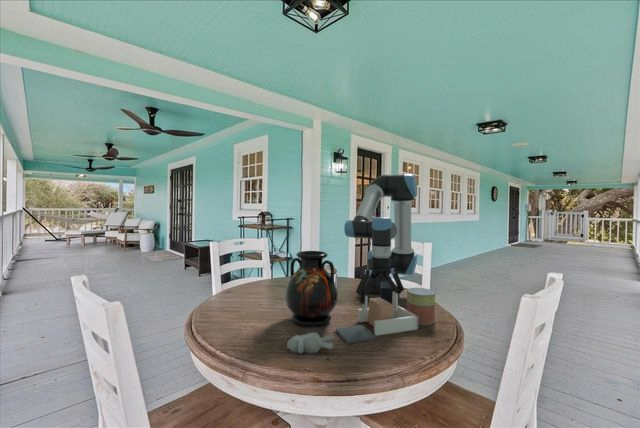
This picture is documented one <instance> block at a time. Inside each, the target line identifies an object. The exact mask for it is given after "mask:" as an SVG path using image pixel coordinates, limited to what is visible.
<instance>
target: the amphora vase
mask: <svg viewBox="0 0 640 428" xmlns="http://www.w3.org/2000/svg"><path fill="white" fill-rule="evenodd" d="M295 255H296V257H295V258H293V259H292V260H291V262H290V265H289V266H290V271H289V272H290V276H289V277H290V280H289V281H288V283H287V285H286V288H285V297H284V299H285V303H286V306H287V308H288V309H289V311H290V312H291V313H292V314H291V317H290V319H291V321H292V322H293V323H294V324H295V325H298V326H300V327H306V328H317V327H323V326H325V325H328V324H329V323H330V322H331V320H332V315H331V313H332V312H333V311H334V309H335V308H336V306H337V304H338V300H339V299H338V296H339V295H338V287H337V286H336V282H335V266H334V263H333V262H332V261H331V260H330V259H329V260H324V259H325V258H327V257H328V253H327V252H325V251H321V250H320V251H318V250H304V251H303V250H302V251H299V252H297V253H296V254H295ZM296 262H297V263H298V264H299V268H298V269H297V270H296V271H295V263H296ZM326 264H327V265H329V268H330V273H329V272H328V271H327V269H326V268H325V265H326Z"/></svg>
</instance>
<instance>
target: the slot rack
mask: <svg viewBox="0 0 640 428" xmlns="http://www.w3.org/2000/svg"><path fill="white" fill-rule="evenodd" d="M357 310H358V311H357V322H358V323H363V322H365V323H366V322H369V307H367V313H364V312H363V311H362V308H358V309H357ZM416 330H419V324H418V316H417V315H415V314H413V313H411V312H409V311H407V308H404V307H402V306H400V305H398V310H395V309H394V308H392V319H385V320H378V321H374V326H373V335H375V336H376V337H377V336H382V335H389V334H396V333H402V332H409V331H416Z"/></svg>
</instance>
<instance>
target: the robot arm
mask: <svg viewBox="0 0 640 428" xmlns="http://www.w3.org/2000/svg"><path fill="white" fill-rule="evenodd" d="M417 196H418V185H417V178H416V177H415V175H414V174H412V173H398V174H396V173H395V174H382V175H379V176H377V177H376V178H374V179H373V180H372V181H370V182H369V183H368V184H367V186H366V187H365V190H364V197H363V198H362V201H361V203H360V205H359V208H358V209H357V211H356V214H355V216H354V217H353V220H352V219H351V220H347V221H345V223H344V225H343V226H344V228H343V230H344V235H345V236H346V237H348V238H354V239H356V238H357V239H371V249H370V250H369V251H368V253H367V258H366V259H367V263H366V264H367V268H364V270H363V273H362V274H363V275H362V276H361V279H360V281H359V283H358V286H357V288H356V290H355V293H356V294H358V295H360V301H359V303H360V304H361V306H362V307H361V309H362V311H363V312H364V313H367V308H368V295H367V294H368V293H369V294H374V295H380V294H381V282H383V283H389V284H390V286H391V287H392V288H393V290H394V292H393V294H392V308H394V309H395V310H398V306H399V301H400V294H401V293H402V292H404V291H405V288H404V286H403V283H402V281H401V279H400V276H399V275H402V276H413V275H414V274H415V273H416V267H417V264H418V263H417V262H418V254H417V253H415V250H414V248H412V203H413V202H414V201H415V197H417ZM383 197H384V198H385V197H387V198H390V200H391V202H392V203H393V205H394V206H393V210H394V215H393V217H394V222H393V221H392V218H391V217H385V216H383V217H382V216H379V217H377V216H375V217H373V216H374V214H375V212H376V209H377V207H378V204H379V202H380V201H381V200H382V199H383ZM392 239H394V247H393V248H392ZM390 275H392V277H393V279H394V281H393V279H392V277H391V276H390Z"/></svg>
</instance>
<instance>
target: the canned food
mask: <svg viewBox="0 0 640 428" xmlns="http://www.w3.org/2000/svg"><path fill="white" fill-rule="evenodd" d="M406 291H407V293H406V295H407V296H406V310H407V311H409V312H411V313H413V314H415V315H417V316H418V325H420V326H431V325H433V324H435V323H436V322H435V319H436V318H435V316H436V313H435V312H436V291H434V290H432V289H429V288H425V287H410V288H407V289H406Z"/></svg>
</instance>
